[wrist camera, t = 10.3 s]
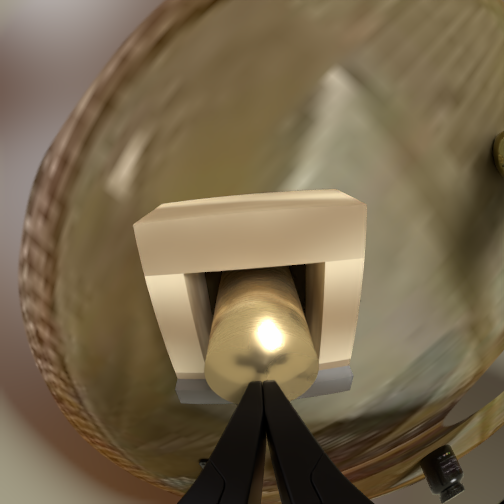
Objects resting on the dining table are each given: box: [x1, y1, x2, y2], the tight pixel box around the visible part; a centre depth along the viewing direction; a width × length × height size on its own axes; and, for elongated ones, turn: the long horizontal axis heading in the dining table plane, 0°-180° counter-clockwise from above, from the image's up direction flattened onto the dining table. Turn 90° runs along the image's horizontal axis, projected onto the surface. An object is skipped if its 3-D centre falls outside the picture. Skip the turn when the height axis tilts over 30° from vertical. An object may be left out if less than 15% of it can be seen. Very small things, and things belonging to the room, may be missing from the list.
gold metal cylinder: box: [204, 265, 319, 405], centre depth 12 cm, size 4×4×7 cm
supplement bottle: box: [420, 445, 465, 504], centre depth 24 cm, size 7×7×12 cm
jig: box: [133, 189, 367, 404], centre depth 13 cm, size 10×9×5 cm
